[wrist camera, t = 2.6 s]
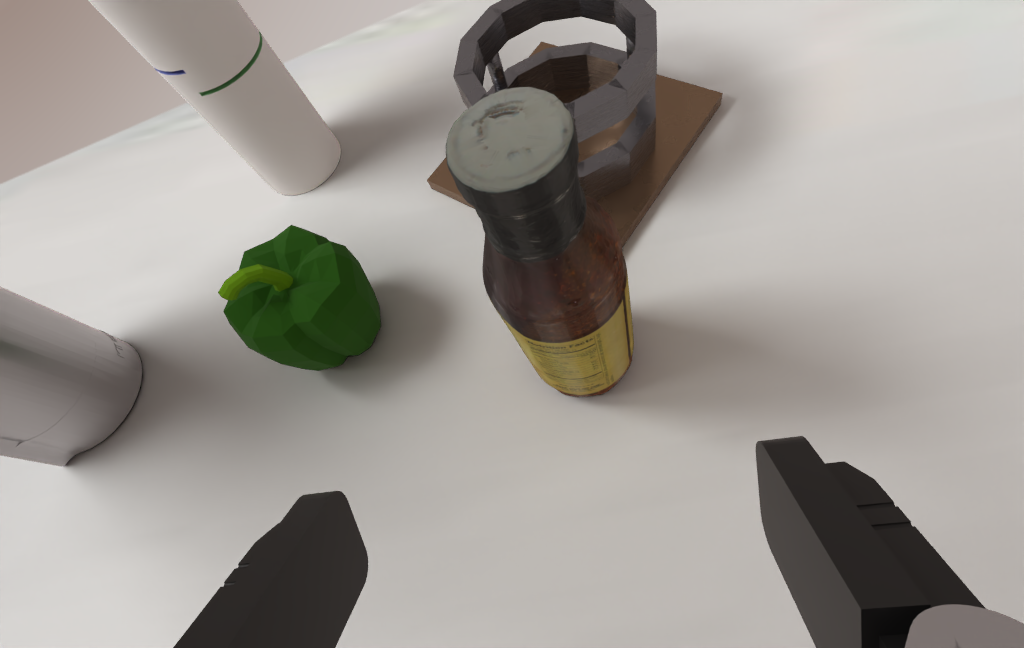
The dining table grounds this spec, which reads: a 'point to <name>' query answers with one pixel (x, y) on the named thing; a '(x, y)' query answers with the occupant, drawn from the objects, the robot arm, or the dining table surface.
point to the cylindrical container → (232, 85)
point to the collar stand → (594, 98)
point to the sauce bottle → (544, 239)
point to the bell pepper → (302, 301)
